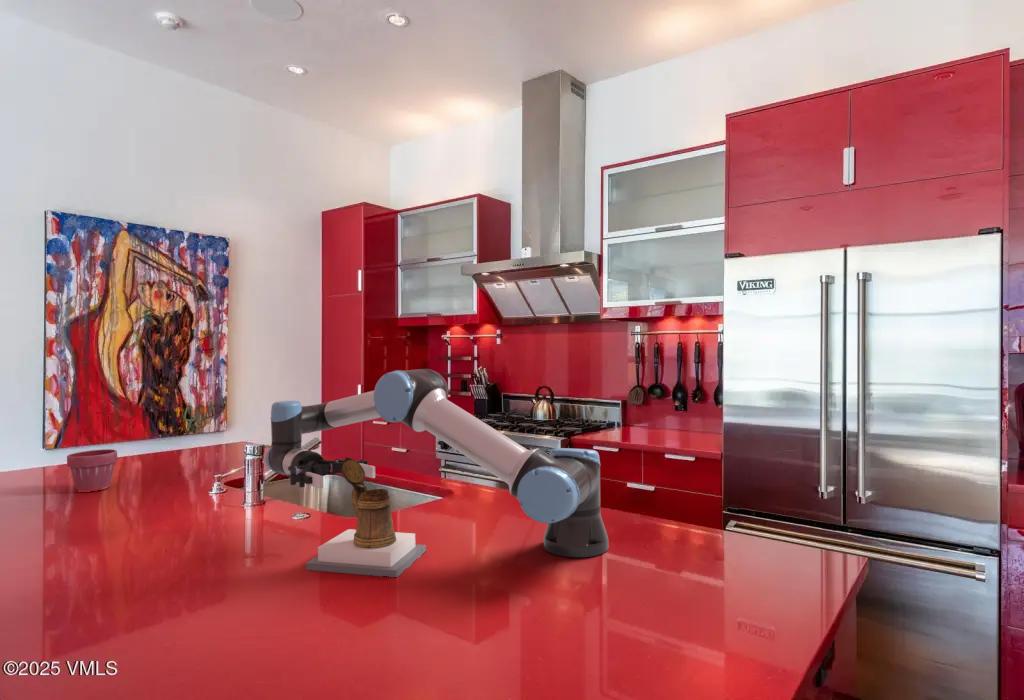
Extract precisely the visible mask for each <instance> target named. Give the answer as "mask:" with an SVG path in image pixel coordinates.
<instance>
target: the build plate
mask: <svg viewBox="0 0 1024 700" xmlns="http://www.w3.org/2000/svg"><path fill="white" fill-rule="evenodd" d="M394 532H395V531H394ZM355 533H356V529H354V528H353V529H351V528H348V529H346V530H345V531H343V532H341V533H339V534H338V535H336V536H334V537H333V538H331V539H329V540H328V541H325V542H324V543H323V544H321V545H320V546H317V555H316V556H315V557H313V558H311V559H310V560H308V561H307V562H306V563H305V571H316V572H325V573H326V572H328V573H335V574H337V573H338V574H349V575H350V574H351V575H362V576H371V575H372V577H373V576H374V577H383V576H387V577H386V578H394V577H397V578H398V577H399V576H400V575H401V574H402V573H404V572H405V571H406V570H407V569H408V568H409V567H411V566H412V565H413V564H414V563H415V562H416V561H417V560H418V559H420V557H421V555H422V554H423V553H424V552H425V551H426V552H427V545H426V544H419V543H418V544H416V533H413V532H410V533H409V532H398V531H396V532H395V535H396V541H395V542H394V543H393V544H391V545H388V546H385V547H380V548H361V547H358V546H356V545H355V544H354V534H355ZM426 552H425V553H426ZM425 553H424V554H425ZM424 554H423V555H424ZM423 555H422V556H423ZM417 558H418V559H417ZM416 559H417V560H416ZM415 560H416V561H415ZM414 561H415V562H414ZM413 562H414V563H413ZM412 563H413V564H412ZM406 568H407V569H406ZM405 569H406V570H405ZM404 570H405V571H404ZM403 571H404V572H403ZM388 576H389V577H388Z"/></svg>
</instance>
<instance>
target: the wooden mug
mask: <svg viewBox="0 0 1024 700" xmlns="http://www.w3.org/2000/svg"><path fill="white" fill-rule="evenodd" d="M343 460H344V461H343V463H342V465H341V471H342V473H341V474H342V475H343V477H344V479H345V481H346V482H347V483H348V484H350V485H351V486H352V490H351V491H352V492H351V503H352V504H351V505H352V507H353V511H354V513H355V515H356V518H357V519H356V527H355V530H356V533H355V534H354V544H355V545H356V546H358V547H361V548H380V547H385V546H388V545H391V544H393V543H394V542H395V541H396V535H395V529H394V522H393V517H392V509H391V504H392V501H391V497H390V495H389V491H388V489H385V488H375V489H374V488H373V489H368V488H367V486H366V485H365V483H364V481H365V479H366V476H365V472H364V469H363V468H362V466H361V465H360V464H359V463H358V462H357V461H358V460H355V459H354V458H350V457H347V456H346V457H345V459H343Z"/></svg>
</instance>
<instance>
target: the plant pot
mask: <svg viewBox="0 0 1024 700" xmlns="http://www.w3.org/2000/svg"><path fill="white" fill-rule="evenodd" d="M117 462H118V451H117V450H116V449H110V448H109V449H108V448H107V449H106V448H105V449H92V450H84V451H78V452H74V453H69V454H67V456H66V466H67V467H68V468H70V472H71V475H72V479H73V481H74V485H75V488H76V490H77V489H79V490H90V489H98V488H103V487H107V486H109V485H110V486H111V480H112V478H113V473H114V467H115V463H117Z"/></svg>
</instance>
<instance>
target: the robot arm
mask: <svg viewBox="0 0 1024 700" xmlns="http://www.w3.org/2000/svg"><path fill="white" fill-rule="evenodd" d="M448 396H449V387H448V384H447V381H446V380H445V378H444V377H443V376H442V375H441V374H440V373H439V372H437V371H435V370H432V369H429V368H420V369H410V370H408V369H407V370H406V369H405V370H401V369H398V370H397V369H396V370H392V371H391V372H386V373H385V374H383V375H382V376H381V377H380V378H379V379H378V380H377V382H376V383H375V387H374V390H371V391H367V392H362V393H358V394H356V395H355V394H354V395H351V396H347V397H346V396H345V397H343V398H339V399H335V400H331V401H326V402H322V403H318V404H317V403H316V404H312V405H304V406H303V405H302V404H301V401H299V400H284V401H283V400H280V401H275V402H273V404H272V405H271V410H270V423H271V424H270V425H271V426H270V427H271V430H270V431H271V447H270V448H269V449H268V450H267V451H266V455H265V459H264V460H265V464H266V467H267V468H268V469H270V470H271V471H273V472H274V473H276V474H280V475H283V476H287V477H288V478H289V479H290V481H289V482H290V485H291V486H296V485H297V483H299V485H298V487H299V488H305V486H306V485H307V486H311V487H314V488H317V489H323V488H324V477H325V476H335V475H336V474H342V471H341V465H342V463H343V461H344V460H345V459H341V458H335V459H333V460H327V459H324V457H323V456H322V454H320V453H319V452H316V451H312V450H308V449H305V448H302V442H303V441H302V439H303V438H302V435H304V434H305V435H306V434H311V433H314V432H315V433H316V432H320V431H321V432H322V431H328V430H333V429H335V428H337V427H342V426H343V427H344V426H347V425H352V424H356V423H362V422H366V421H369V420H375V419H379V418H381V419H382V420H384V421H387V422H390V423H399V422H401V423H402V424H404V425H405V426H407V427H409V428H410V429H412V430H413V431H414V432H417V433H422V432H424V431H427V432H428V433H430V434H431V435H433V436H434V437H436V438H437V439H439V440H440V441H442V442H444V443H445V444H447V445H448V446H449V447H451V448H453V449H455V451H457V452H459V453H460V454H462V455H463V456H465V457H466V458H467V459H469V460H471V461H472V462H474V463H475V464H476V465H478V466H480V467H481V468H482V469H485V470H486V471H488V472H489V473H490V474H492V475H493V476H495V477H497V478H498V479H500V480H501V481H503V482H504V483H505V484H507V485H508V489H509V494H510V495H511V496H513V497H514V498H515V499H516V500H518V502H519V504H520V508H521V509H522V511H523V512H524V513H525V514H526V516H528V517H529V518H530V519H532V520H534V521H536V522H539V523H543V524H547V525H546V527H545V531H544V534H543V548H544V550H546V552H548V553H551V554H552V555H556V556H561V557H567V558H589V557H596V556H600V555H601V554H604V553H606V552H607V551H608V550H609V536H608V533H607V530H606V527H605V524H604V521H603V518H602V514H601V460H600V455H599V452H598V451H597V450H594V449H587V448H572V447H571V448H570V447H568V448H565V447H562V448H561V447H560V448H559V447H556V448H551V450H550V452H549V453H547V452H545V451H543V450H542V449H541V448H538V447H537V448H533V449H527V447H523V446H522V445H521V444H519V443H518V442H517V441H515V440H513V439H511V438H510V437H508V436H506V435H505V434H504V433H501V432H500V431H499V430H497V429H495V428H493V427H492V426H491V425H489V424H487V423H485V421H482V420H481V419H479V418H477V417H476V416H474V415H473V414H471V413H469V412H468V411H466V410H465V409H463V408H462V407H460V406H458V405H457V404H455V403H453V402H452V401H450V400H449V399H448ZM356 461H357V462H358V463H359V464H360V465H361V466H362V468H363V469H364V472H365V478H370V479H375V478H376V466H374V465H371V464H370V465H369V461H368V460H364V459H360V460H356ZM331 470H332V471H331Z"/></svg>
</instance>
